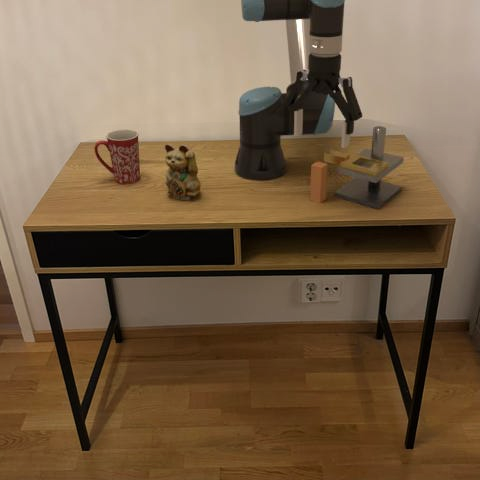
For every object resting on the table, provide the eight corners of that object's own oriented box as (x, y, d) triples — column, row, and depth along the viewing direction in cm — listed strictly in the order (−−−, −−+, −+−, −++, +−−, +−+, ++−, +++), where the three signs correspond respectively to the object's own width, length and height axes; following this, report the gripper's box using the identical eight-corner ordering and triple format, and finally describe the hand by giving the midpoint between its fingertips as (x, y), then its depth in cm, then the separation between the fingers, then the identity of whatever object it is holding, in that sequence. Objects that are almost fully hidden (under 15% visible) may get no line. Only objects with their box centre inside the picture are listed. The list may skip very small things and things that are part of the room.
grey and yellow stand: (317, 193, 158) (320, 132, 149) (346, 174, 168) (350, 115, 160) (376, 211, 149) (383, 146, 140) (403, 189, 159) (411, 128, 150)
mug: (144, 171, 174) (139, 127, 167) (142, 184, 166) (137, 139, 159) (101, 173, 173) (94, 130, 167) (97, 186, 166) (90, 141, 159)
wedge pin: (310, 200, 155) (311, 165, 150) (316, 196, 157) (317, 161, 152) (319, 203, 153) (321, 167, 148) (325, 199, 155) (327, 163, 150)
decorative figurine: (162, 199, 158) (157, 146, 150) (173, 186, 164) (169, 135, 157) (196, 203, 155) (193, 149, 148) (206, 189, 162) (203, 138, 154)
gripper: (271, 50, 140) (271, 135, 151) (366, 63, 127) (358, 155, 137) (289, 44, 145) (287, 126, 156) (382, 56, 132) (373, 146, 142)
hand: (321, 140), depth 147 cm, fingers open, 13 cm apart
